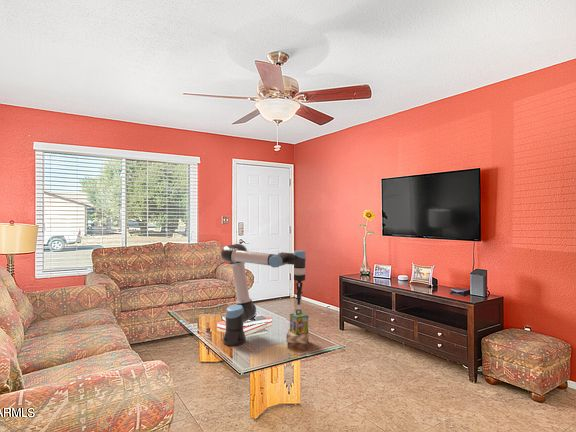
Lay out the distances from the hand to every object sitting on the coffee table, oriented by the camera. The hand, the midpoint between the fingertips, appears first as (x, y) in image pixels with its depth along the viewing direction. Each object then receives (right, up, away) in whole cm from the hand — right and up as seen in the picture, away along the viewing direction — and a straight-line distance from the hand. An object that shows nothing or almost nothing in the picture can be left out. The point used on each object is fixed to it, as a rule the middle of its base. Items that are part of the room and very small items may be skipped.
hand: (299, 306), depth 232 cm
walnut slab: (-1, -26, 0) cm, 26 cm away
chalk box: (0, -17, 0) cm, 17 cm away
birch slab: (-1, -21, -1) cm, 21 cm away
